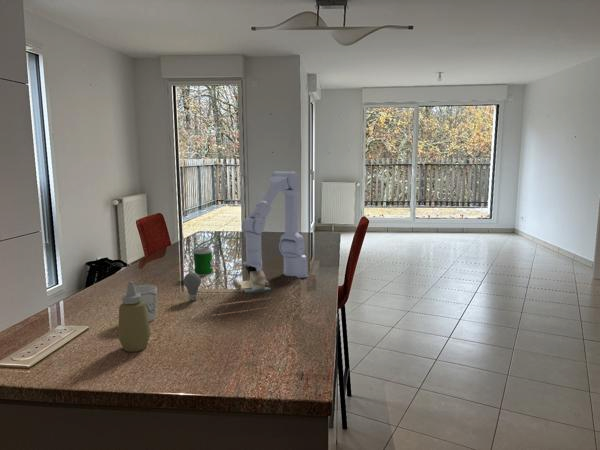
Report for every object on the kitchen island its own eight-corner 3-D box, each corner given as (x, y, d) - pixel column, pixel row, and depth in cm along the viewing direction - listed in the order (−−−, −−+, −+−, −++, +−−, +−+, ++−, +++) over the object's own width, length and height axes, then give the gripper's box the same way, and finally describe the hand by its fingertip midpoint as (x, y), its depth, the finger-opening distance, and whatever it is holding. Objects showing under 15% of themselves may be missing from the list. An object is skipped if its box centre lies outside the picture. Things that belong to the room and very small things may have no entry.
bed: (261, 281, 178) (261, 275, 177) (268, 288, 169) (268, 282, 168) (233, 285, 173) (233, 279, 173) (239, 292, 165) (238, 285, 164)
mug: (133, 330, 129) (131, 297, 128) (115, 324, 134) (113, 292, 132) (164, 317, 139) (162, 287, 137) (146, 313, 143) (144, 283, 142)
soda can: (208, 278, 183) (207, 250, 181) (191, 278, 185) (190, 249, 183) (215, 274, 190) (214, 246, 189) (199, 273, 192) (198, 246, 190)
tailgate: (266, 286, 167) (271, 288, 162) (267, 289, 167) (271, 291, 162) (242, 289, 164) (246, 291, 158) (242, 292, 164) (246, 294, 158)
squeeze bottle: (124, 342, 121) (119, 278, 118) (154, 340, 121) (150, 277, 119) (114, 355, 113) (109, 286, 110) (147, 353, 114) (142, 285, 111)
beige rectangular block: (261, 282, 165) (262, 270, 163) (264, 289, 162) (265, 276, 159) (249, 284, 164) (250, 271, 162) (252, 290, 160) (253, 277, 158)
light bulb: (205, 298, 158) (203, 271, 156) (196, 303, 152) (194, 275, 150) (190, 296, 159) (189, 269, 158) (181, 302, 154) (179, 274, 152)
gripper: (238, 247, 169) (239, 281, 171) (248, 254, 155) (249, 292, 157) (256, 245, 171) (257, 279, 173) (267, 253, 158) (268, 289, 160)
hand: (254, 285), depth 166 cm, fingers closed
